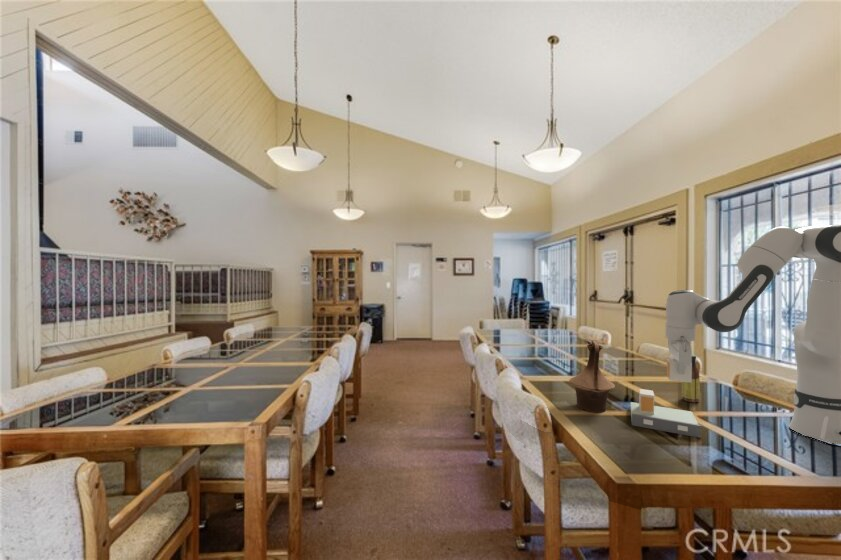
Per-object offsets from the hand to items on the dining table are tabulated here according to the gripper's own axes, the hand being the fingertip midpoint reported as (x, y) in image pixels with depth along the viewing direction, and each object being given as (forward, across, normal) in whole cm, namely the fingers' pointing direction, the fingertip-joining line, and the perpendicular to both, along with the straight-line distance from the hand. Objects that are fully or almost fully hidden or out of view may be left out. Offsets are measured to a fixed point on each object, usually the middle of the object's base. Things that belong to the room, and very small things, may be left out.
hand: (679, 371), depth 131 cm
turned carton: (+3, 0, 0) cm, 3 cm away
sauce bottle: (+20, +31, -9) cm, 37 cm away
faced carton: (+16, 0, +10) cm, 19 cm away
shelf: (+19, -1, +5) cm, 20 cm away
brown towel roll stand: (+19, +2, +29) cm, 35 cm away
